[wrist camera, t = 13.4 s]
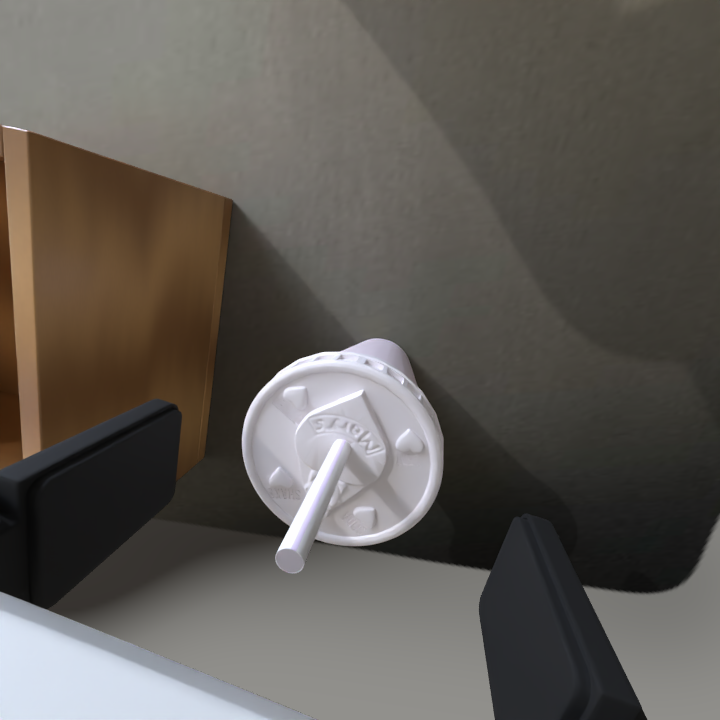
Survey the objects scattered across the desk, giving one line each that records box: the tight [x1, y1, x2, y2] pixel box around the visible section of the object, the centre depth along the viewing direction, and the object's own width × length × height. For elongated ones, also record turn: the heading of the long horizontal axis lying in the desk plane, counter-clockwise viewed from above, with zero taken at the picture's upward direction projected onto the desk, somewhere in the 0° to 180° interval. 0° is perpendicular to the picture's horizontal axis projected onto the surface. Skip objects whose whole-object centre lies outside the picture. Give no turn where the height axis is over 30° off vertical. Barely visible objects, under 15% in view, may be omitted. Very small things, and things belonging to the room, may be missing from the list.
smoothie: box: [242, 338, 444, 574], centre depth 13 cm, size 6×6×14 cm
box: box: [0, 124, 233, 481], centre depth 17 cm, size 16×16×10 cm
